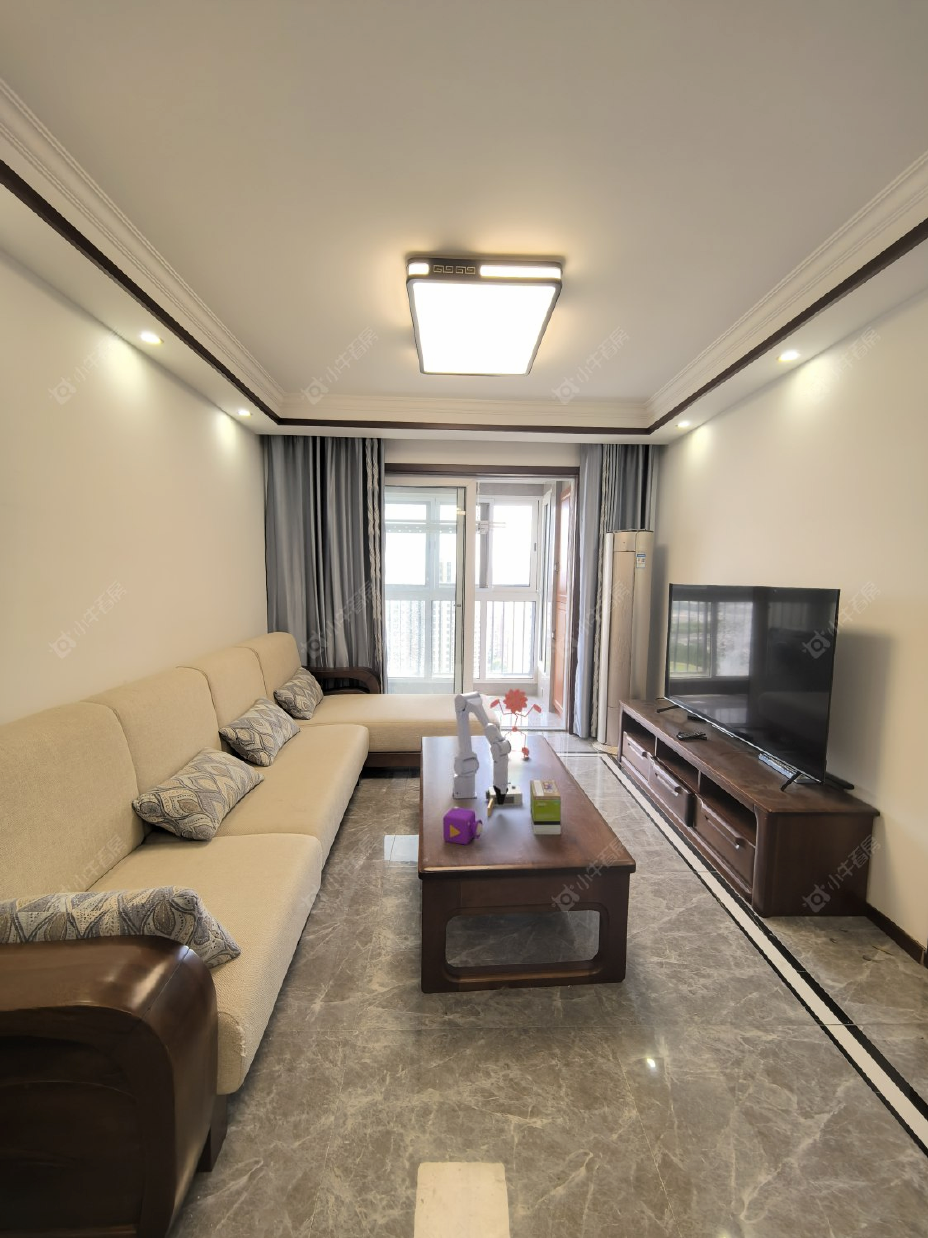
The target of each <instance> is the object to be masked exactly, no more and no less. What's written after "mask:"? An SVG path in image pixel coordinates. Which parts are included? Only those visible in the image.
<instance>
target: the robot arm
mask: <svg viewBox="0 0 928 1238" xmlns="http://www.w3.org/2000/svg"><path fill="white" fill-rule="evenodd" d="M453 699H454V700H453V701H454V708H455V709H454V711H455V712H454V713H455V718H456V728H457V740H458V748H459V749H458V750H459V751H458V752H457V754H456V755H455V756H454V763H453V771H454V772H455V774H453V776H452V783H453V784H452V792H453V793H452V794H453V797H454V799H472V798H473V799H475V798H476V799H477V798H478V795H477V791H476V774H477V772H478V771H479V769H480V762H479V760H478V754H477V753H476V752H475V751H473V746H472V736H471V735H472V734H471V723H470V713H473V714H474V716H475V718H476V719H477V720H478V722H479V723H480V725H481V726H482V727H483V730H482V733H483V735H484V736H485V738H486V739H487V741H488V743H489V745H490V747H489V750H490V753H491V758H492V760H493V762H492V763H493V770H492V774H493V775H492V777H493V779H492V787H493V788H494V791H495V793H496V799H497V803H498V805H497V806H504V805H503V804H504V800H505V796H506V794H507V792H508V788H507V786H509V785H511V783H512V782H511V780H509V754H510V753H511V752H512V744H511V742H510V741H509V740H508V739H505V738H506V737H505V736H503V735H502V734H501V732H500V731H499V729H498V727H497V725H496V724H494V723H491V721H490V719H489V716H488V714H487V712H486V710H485V708H484V706H483V697H482V696H481V694H480V693H479V692H478V691H476V690H475V691H471V692H467V693H459V694H457V695H456V696H455V698H453Z"/></svg>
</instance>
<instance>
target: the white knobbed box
mask: <svg viewBox="0 0 928 1238" xmlns="http://www.w3.org/2000/svg"><path fill="white" fill-rule="evenodd" d="M507 788H508V792H507V794H506V796H505V800H504V804H503V805H502V806H511V805H513V806H514V805H523V792H522V790H521V788H520V786H519V785H508V786H507ZM491 797H493V807H495V806H499V805H498V803H497V799H496V793H495V791H494V788H493V786H488V787H487V790H485V800H488V803H489V802H490V800H491Z"/></svg>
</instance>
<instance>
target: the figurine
mask: <svg viewBox="0 0 928 1238" xmlns="http://www.w3.org/2000/svg"><path fill="white" fill-rule="evenodd" d="M525 695H526V692H525V691H523V690H522V691H521V690H520V689H519V688H517V689H515V690H514V689H512V688H509V691H508V693H505V694H504V699H503V700H502V703H503V704H504V705H505V709H506V710H510V712H507V713H506V712H505V713H504V709H503V707H502V704H501V702H500V699H499V698H497V699H495V700H493V701H492V702H491V703H490V705H489V708H490V709H493V708H495V707H496V706H497V705H498V704H499V707H500V710H501V713H502V715H504V716H505V715H515V716H516V718H515V723H514V726H513V727H512V728H511V730H510V731H508V732H507V733H505V736H506V735H508V734H509V733H511V732H512V731H513V732H520V733H521V734H523V735H524V743H526V739H527V734H525V733H524V732H523V731H521V730H520V729H518V727H517V726H516V725H517V721H518V717H519V716H521V717H524V718H527V716H529V714H530V713H531V711H532V710H533V709H534V710H535V711H536V712H538V713H540V714H541V713H542V708H541V707H540V706H539V705H537V704H536V703H534V704H533V705H532V707H531V708H530V710H529V711H528V712H527V713H526V715H523V714H519V713H522V712H523V708H524V709H526V708H528V704H527V702H528V700H529V698H527V696H525ZM517 712H518V713H517ZM504 738H505V739H506V738H507V737H504ZM523 746H524V747H521V750H520V752H521V753H522V754H523V760H524V761H526V756H527V757H529V755H530V749H529V748H528V747H526V744H524V745H523ZM512 752H515V750H512Z"/></svg>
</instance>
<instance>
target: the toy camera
mask: <svg viewBox="0 0 928 1238" xmlns="http://www.w3.org/2000/svg"><path fill="white" fill-rule="evenodd" d="M442 818H443V819H442V820H443V821H442V823H443V826H442V828H443V829H442V830H443V831H442V832H443V833H442V834H443V839H444V840H443V841H445V842H449V843H454V844H460V845H467V844H468V843H469V842H470V841H471V840H472V839H473V837H474V838H475V839H477V840H478V839H480V838H481V835H482V833H483V820H482V819H478V820H476V812H475V811H474V810H472V809H467V808H462V807H459V806H455V805H454V807H452V808H451V809H450V810H449V811H448V812H447V813H446V814H444V816H443V817H442Z"/></svg>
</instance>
